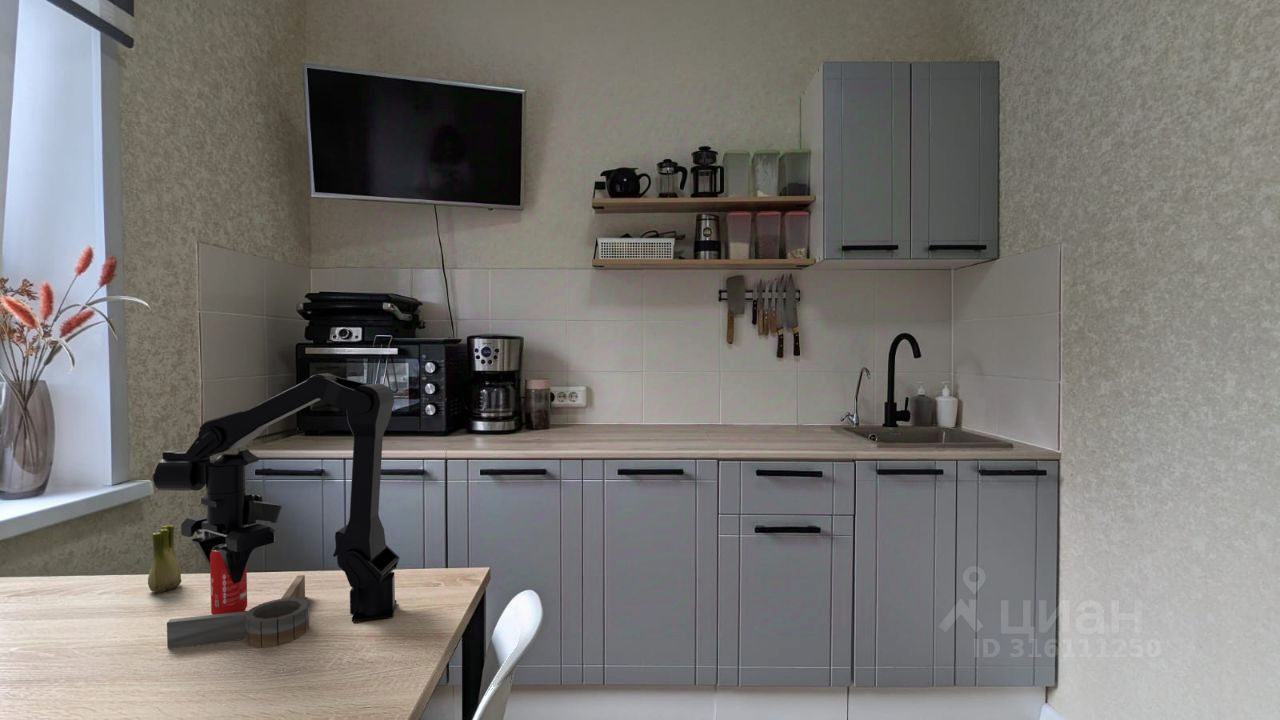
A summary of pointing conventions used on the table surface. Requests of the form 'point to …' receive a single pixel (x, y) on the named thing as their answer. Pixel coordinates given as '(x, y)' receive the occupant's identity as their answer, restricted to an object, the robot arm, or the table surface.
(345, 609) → the table surface
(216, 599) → the beverage can
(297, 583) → the grey ring bracket
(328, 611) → the table surface
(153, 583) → the fennel bulb
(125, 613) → the table surface
